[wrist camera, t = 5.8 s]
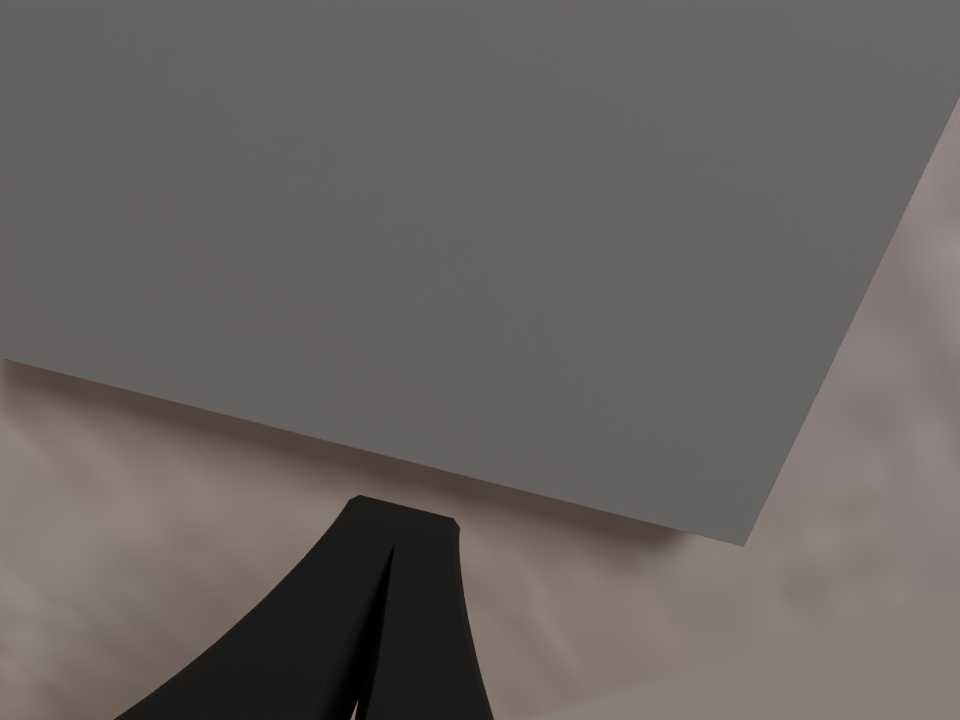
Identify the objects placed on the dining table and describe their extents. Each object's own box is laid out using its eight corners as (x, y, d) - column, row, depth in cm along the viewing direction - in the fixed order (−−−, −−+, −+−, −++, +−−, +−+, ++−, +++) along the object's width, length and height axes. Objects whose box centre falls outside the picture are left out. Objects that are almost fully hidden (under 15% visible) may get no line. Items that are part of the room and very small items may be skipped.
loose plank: (991, -89, 15) (1047, -86, 13) (730, 489, 20) (744, 547, 19) (35, -343, 15) (-41, -376, 13) (37, 313, 20) (-16, 354, 18)
